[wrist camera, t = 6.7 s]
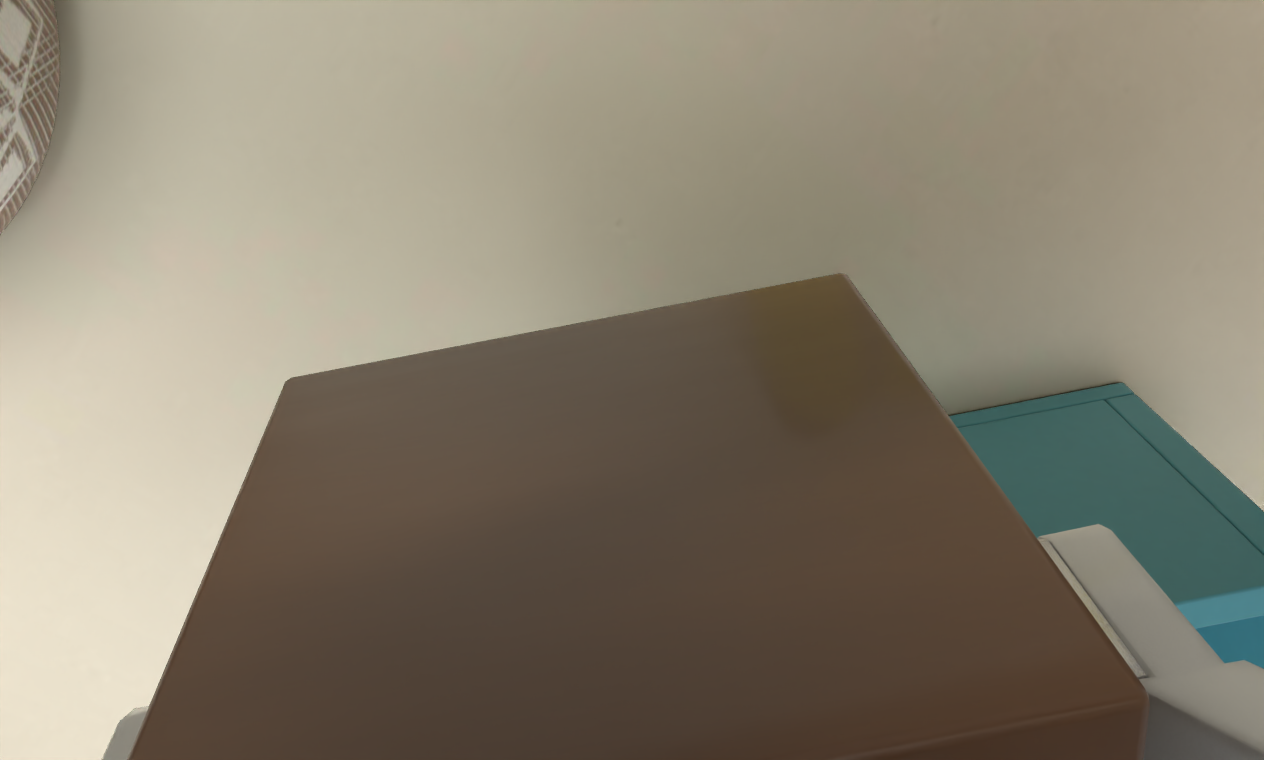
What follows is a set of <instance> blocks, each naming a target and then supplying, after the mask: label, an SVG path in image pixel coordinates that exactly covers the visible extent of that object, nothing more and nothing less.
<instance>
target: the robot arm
mask: <svg viewBox="0 0 1264 760" xmlns="http://www.w3.org/2000/svg"><path fill="white" fill-rule="evenodd" d="M1037 539H1038V541H1039V542H1040V543H1041V545H1042V546H1043V547H1044V549H1045V550H1046V552H1047V553H1048V554H1049V556H1050V557H1051V559H1052V560H1053V561H1054V563H1055V564H1056V565H1057V567H1058V568H1059V570H1060V571H1061V572H1062V574H1063V575H1064V577H1065V578H1066V579H1067V581H1068V582H1069V583H1070V585H1071V586H1072V588H1073V589H1074V590H1075V592H1076V593H1077V595H1078V596H1079V597H1080V599H1081V600H1082V602H1083V603H1084V604H1085V606H1086V607H1087V608H1088V610H1089V611H1090V613H1091V614H1092V615H1093V617H1094V618H1095V620H1096V621H1097V622H1098V624H1099V625H1100V626H1101V628H1102V629H1103V631H1104V632H1105V633H1106V635H1107V636H1108V638H1109V639H1110V640H1111V642H1112V643H1113V644H1114V646H1115V647H1116V649H1117V650H1118V651H1119V653H1120V654H1121V656H1122V657H1123V658H1124V660H1125V661H1126V663H1127V664H1128V665H1129V667H1130V668H1131V669H1132V671H1133V672H1134V674H1135V675H1136V676H1137V678H1138V679H1139V681H1140V682H1141V683H1142V685H1143V686H1144V688H1145V689H1146V691H1147V693H1148V696H1149V702H1150V709H1149V718H1148V726H1147V734H1146V742H1145V751H1144V759H1143V760H1264V669H1263V668H1261V667H1259V666H1256V665H1254V664H1252V663H1250V662H1248V661H1245V660H1241V661H1235V662H1229V663H1224V662H1223V661H1222V660H1221V659H1220V657H1219V656H1218V655H1217V654H1216V653H1215V652H1214V650H1213V649H1212V648H1211V647H1210V646H1209V644H1208V643H1207V642H1206V641H1205V640H1204V639H1203V637H1202V636H1201V635H1200V634H1199V633H1198V632H1197V630H1196V629H1195V628H1194V627H1193V626H1192V624H1191V623H1190V622H1189V621H1188V620H1187V619H1186V617H1185V616H1184V615H1183V614H1182V613H1181V612H1180V610H1179V609H1178V608H1177V607H1176V606H1175V604H1174V603H1173V602H1172V601H1171V600H1170V599H1169V597H1168V596H1167V595H1166V594H1165V593H1164V592H1163V590H1162V589H1161V588H1160V587H1159V586H1158V584H1157V583H1156V582H1155V581H1154V580H1153V579H1152V577H1151V576H1150V575H1149V574H1148V573H1147V571H1146V570H1145V569H1144V568H1143V567H1142V566H1141V564H1140V563H1139V562H1138V561H1137V560H1136V559H1135V557H1134V556H1133V555H1132V554H1131V553H1130V551H1129V550H1128V549H1127V548H1126V547H1125V546H1124V544H1123V543H1122V542H1121V541H1120V540H1119V539H1118V537H1117V536H1116V535H1115V534H1114V533H1113V531H1112V530H1110V529H1108V528H1106V527H1104V526H1102V525H1100V524H1096V525H1091V526H1087V527H1082V528H1077V529H1072V530H1067V531H1063V532H1058V533H1053V534H1048V535H1044V536H1039V537H1038V538H1037ZM148 708H149V706H147V707H141V708H135V709H133V710H132V711H131V712H130V713H129V714H127V715H126V716H125V717H124V718H123V719H122V720H120V722H119V723H118V725H117V727H116V729H115V731H114V734H113V736H112V738H111V740H110V742H109V745H108V747H107V749H106V751H105V753H104V756H103V758H102V760H127V758H128V755H129V753H130V751H131V748H132V746H133V744H134V741H135V739H136V736H137V734H138V732H139V729H140V727H141V725H142V722H143V720H144V717H145V715H146V713H147V710H148Z"/></svg>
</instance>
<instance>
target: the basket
mask: <svg viewBox="0 0 1264 760" xmlns="http://www.w3.org/2000/svg"><path fill="white" fill-rule="evenodd" d="M949 417H950V419H951V420H952V421H953V423H954V424H955V425H956V427H957V428H958V430H959V431H960V432H961V434H962V435H963V437H964V438H965V439H966V441H967V442H968V443H969V445H970V446H971V448H972V449H973V450H974V452H975V453H976V455H977V456H978V457H979V459H980V460H981V461H982V463H983V464H984V466H985V467H986V468H987V470H988V471H989V473H990V474H991V475H992V477H993V478H994V480H995V481H996V482H997V484H998V485H999V486H1000V488H1001V489H1002V491H1003V492H1004V493H1005V495H1006V496H1007V498H1008V499H1009V500H1010V502H1011V503H1012V504H1013V506H1014V507H1015V509H1016V510H1017V511H1018V513H1019V514H1020V516H1021V517H1022V518H1023V520H1024V521H1025V522H1026V524H1027V525H1028V527H1029V528H1030V529H1031V531H1032V532H1033V534H1034V535H1035V536H1036V538H1038V537H1039V536H1044V535H1048V534H1053V533H1058V532H1063V531H1067V530H1072V529H1077V528H1082V527H1087V526H1091V525H1096V524H1100V525H1102V526H1104V527H1106V528H1108V529H1110V530H1112V531H1113V533H1114V534H1115V535H1116V536H1117V537H1118V539H1119V540H1120V541H1121V542H1122V543H1123V544H1124V546H1125V547H1126V548H1127V549H1128V550H1129V551H1130V553H1131V554H1132V555H1133V556H1134V557H1135V559H1136V560H1137V561H1138V562H1139V563H1140V564H1141V566H1142V567H1143V568H1144V569H1145V570H1146V571H1147V573H1148V574H1149V575H1150V576H1151V577H1152V579H1153V580H1154V581H1155V582H1156V583H1157V584H1158V586H1159V587H1160V588H1161V589H1162V590H1163V592H1164V593H1165V594H1166V595H1167V596H1168V597H1169V599H1170V600H1171V601H1172V602H1173V603H1174V604H1175V606H1176V607H1177V608H1178V609H1179V610H1180V612H1181V613H1182V614H1183V615H1184V616H1185V617H1186V619H1187V620H1188V621H1189V622H1190V623H1191V624H1192V626H1193V627H1194V628H1195V629H1196V630H1197V632H1198V633H1199V634H1200V635H1201V636H1202V637H1203V639H1204V640H1205V641H1206V642H1207V643H1208V644H1209V646H1210V647H1211V648H1212V649H1213V650H1214V652H1215V653H1216V654H1217V655H1218V656H1219V657H1220V659H1221V660H1222V661H1223V662H1224V663H1229V662H1235V661H1241V660H1245V661H1248V662H1250V663H1252V664H1254V665H1256V666H1259V667H1261V668H1263V669H1264V511H1263V510H1261V509H1260V508H1259V507H1258V506H1257V505H1256V504H1255V503H1254V502H1253V501H1252V500H1250V499H1249V498H1248V497H1247V496H1246V495H1245V494H1244V493H1243V492H1242V491H1241V490H1240V489H1238V488H1237V487H1236V486H1235V485H1234V484H1233V483H1232V482H1231V481H1230V480H1229V479H1228V478H1226V477H1225V476H1224V475H1223V474H1222V473H1221V472H1220V471H1219V470H1218V469H1217V468H1216V467H1214V466H1213V465H1212V464H1211V463H1210V462H1209V461H1208V460H1207V459H1206V458H1205V457H1203V456H1202V455H1201V454H1200V453H1199V452H1198V451H1197V450H1196V449H1195V448H1194V447H1193V446H1191V445H1190V444H1189V443H1188V442H1187V441H1186V440H1185V439H1184V438H1183V437H1182V436H1181V435H1179V434H1178V433H1177V432H1176V431H1175V430H1174V429H1173V428H1172V427H1171V426H1170V425H1168V424H1167V423H1166V422H1165V421H1164V420H1163V419H1162V418H1161V417H1160V416H1159V415H1158V414H1156V413H1155V412H1154V411H1153V410H1152V409H1151V408H1150V407H1149V406H1148V405H1147V404H1146V403H1144V402H1143V401H1142V400H1141V399H1140V398H1139V397H1138V396H1137V395H1134V392H1133V391H1132V390H1131V389H1129V388H1128V387H1127V386H1126V385H1125V384H1124V383H1116V384H1111V385H1106V386H1101V387H1095V388H1090V389H1085V390H1080V391H1075V392H1070V393H1065V394H1060V395H1054V396H1049V397H1044V398H1039V399H1034V400H1029V401H1024V402H1019V403H1013V404H1008V405H1003V406H998V407H993V408H988V409H983V410H978V411H972V412H967V413H962V414H957V415H952V416H949Z"/></svg>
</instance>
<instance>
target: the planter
mask: <svg viewBox="0 0 1264 760" xmlns="http://www.w3.org/2000/svg"><path fill="white" fill-rule="evenodd" d="M59 81H60V47H59V37H58V27H57V17H56V12H55V6H54V1H53V0H0V234H1V233H2V232H3V231H4V230H5V228H6V227H7V226H8V224H9V223H10V222H11V220H12V219H13V218H14V217H15V215H16V214H17V212H18V211H19V209H20V208H21V206H22V204H23V203H24V201H25V199H26V198H27V196H28V195H29V193H30V191H31V188H32V186H33V184H34V182H35V180H36V178H37V176H38V174H39V172H40V169H41V167H42V164H43V161H44V158H45V156H46V153H47V150H48V147H49V143H50V139H51V135H52V132H53V128H54V123H55V117H56V111H57V104H58V95H59Z"/></svg>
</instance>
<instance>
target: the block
mask: <svg viewBox="0 0 1264 760" xmlns="http://www.w3.org/2000/svg"><path fill="white" fill-rule="evenodd" d="M1149 709H1150V702H1149V696H1148V693H1147V691H1146V689H1145V688H1144V686H1143V685H1142V683H1141V682H1140V681H1139V679H1138V678H1137V676H1136V675H1135V674H1134V672H1133V671H1132V669H1131V668H1130V667H1129V665H1128V664H1127V663H1126V661H1125V660H1124V658H1123V657H1122V656H1121V654H1120V653H1119V651H1118V650H1117V649H1116V647H1115V646H1114V644H1113V643H1112V642H1111V640H1110V639H1109V638H1108V636H1107V635H1106V633H1105V632H1104V631H1103V629H1102V628H1101V626H1100V625H1099V624H1098V622H1097V621H1096V620H1095V618H1094V617H1093V615H1092V614H1091V613H1090V611H1089V610H1088V608H1087V607H1086V606H1085V604H1084V603H1083V602H1082V600H1081V599H1080V597H1079V596H1078V595H1077V593H1076V592H1075V590H1074V589H1073V588H1072V586H1071V585H1070V583H1069V582H1068V581H1067V579H1066V578H1065V577H1064V575H1063V574H1062V572H1061V571H1060V570H1059V568H1058V567H1057V565H1056V564H1055V563H1054V561H1053V560H1052V559H1051V557H1050V556H1049V554H1048V553H1047V552H1046V550H1045V549H1044V547H1043V546H1042V545H1041V543H1040V542H1039V541H1038V539H1037V538H1036V536H1035V535H1034V534H1033V532H1032V531H1031V529H1030V528H1029V527H1028V525H1027V524H1026V522H1025V521H1024V520H1023V518H1022V517H1021V516H1020V514H1019V513H1018V511H1017V510H1016V509H1015V507H1014V506H1013V504H1012V503H1011V502H1010V500H1009V499H1008V498H1007V496H1006V495H1005V493H1004V492H1003V491H1002V489H1001V488H1000V486H999V485H998V484H997V482H996V481H995V480H994V478H993V477H992V475H991V474H990V473H989V471H988V470H987V468H986V467H985V466H984V464H983V463H982V461H981V460H980V459H979V457H978V456H977V455H976V453H975V452H974V450H973V449H972V448H971V446H970V445H969V443H968V442H967V441H966V439H965V438H964V437H963V435H962V434H961V432H960V431H959V430H958V428H957V427H956V425H955V424H954V423H953V421H952V420H951V419H950V417H949V416H948V414H947V413H946V412H945V410H944V409H943V407H942V406H941V405H940V403H939V402H938V400H937V399H936V398H935V396H934V395H933V394H932V392H931V391H930V389H929V388H928V387H927V385H926V384H925V382H924V381H923V380H922V378H921V377H920V376H919V374H918V373H917V371H916V370H915V369H914V367H913V366H912V364H911V363H910V362H909V360H908V359H907V358H906V356H905V355H904V353H903V352H902V351H901V349H900V348H899V346H898V345H897V344H896V342H895V341H894V339H893V338H892V337H891V335H890V334H889V333H888V331H887V330H886V328H885V327H884V326H883V324H882V323H881V321H880V320H879V319H878V317H877V316H876V315H875V313H874V312H873V310H872V309H871V308H870V306H869V305H868V303H867V302H866V301H865V299H864V298H863V297H862V295H861V294H860V292H859V291H858V290H857V288H856V287H855V285H854V284H853V283H852V281H851V280H850V279H849V277H848V276H847V275H846V274H840V273H838V274H833V275H828V276H823V277H817V278H812V279H807V280H802V281H796V282H791V283H786V284H781V285H775V286H770V287H765V288H760V289H754V290H749V291H744V292H739V293H733V294H728V295H723V296H718V297H712V298H707V299H702V300H697V301H691V302H686V303H681V304H676V305H670V306H665V307H660V308H655V309H649V310H644V311H639V312H634V313H628V314H623V315H618V316H613V317H607V318H602V319H597V320H592V321H586V322H581V323H576V324H571V325H566V326H560V327H555V328H550V329H545V330H539V331H534V332H529V333H524V334H518V335H513V336H508V337H503V338H497V339H492V340H487V341H482V342H476V343H471V344H466V345H461V346H455V347H450V348H445V349H440V350H434V351H429V352H424V353H419V354H413V355H408V356H403V357H398V358H392V359H387V360H382V361H377V362H371V363H366V364H361V365H356V366H350V367H345V368H340V369H335V370H329V371H324V372H319V373H314V374H308V375H303V376H298V377H293V378H290V379H289V380H287V381H286V382H285V384H284V386H283V389H282V391H281V394H280V396H279V398H278V401H277V403H276V405H275V408H274V410H273V413H272V415H271V417H270V420H269V422H268V424H267V427H266V429H265V432H264V434H263V436H262V439H261V441H260V444H259V446H258V448H257V451H256V453H255V455H254V458H253V460H252V463H251V465H250V467H249V470H248V472H247V474H246V477H245V479H244V482H243V484H242V486H241V489H240V491H239V494H238V496H237V498H236V501H235V503H234V505H233V508H232V510H231V513H230V515H229V517H228V520H227V522H226V524H225V527H224V529H223V532H222V534H221V536H220V539H219V541H218V544H217V546H216V548H215V551H214V553H213V555H212V558H211V560H210V563H209V565H208V567H207V570H206V572H205V575H204V577H203V579H202V582H201V584H200V586H199V589H198V591H197V594H196V596H195V598H194V601H193V603H192V605H191V608H190V610H189V613H188V615H187V617H186V620H185V622H184V625H183V627H182V629H181V632H180V634H179V636H178V639H177V641H176V644H175V646H174V648H173V651H172V653H171V655H170V658H169V660H168V663H167V665H166V667H165V670H164V672H163V675H162V677H161V679H160V682H159V684H158V686H157V689H156V691H155V694H154V696H153V698H152V701H151V703H150V705H149V708H148V710H147V713H146V715H145V717H144V720H143V722H142V725H141V727H140V729H139V732H138V734H137V736H136V739H135V741H134V744H133V746H132V748H131V751H130V753H129V755H128V758H127V760H1143V759H1144V751H1145V742H1146V734H1147V726H1148V718H1149Z"/></svg>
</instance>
